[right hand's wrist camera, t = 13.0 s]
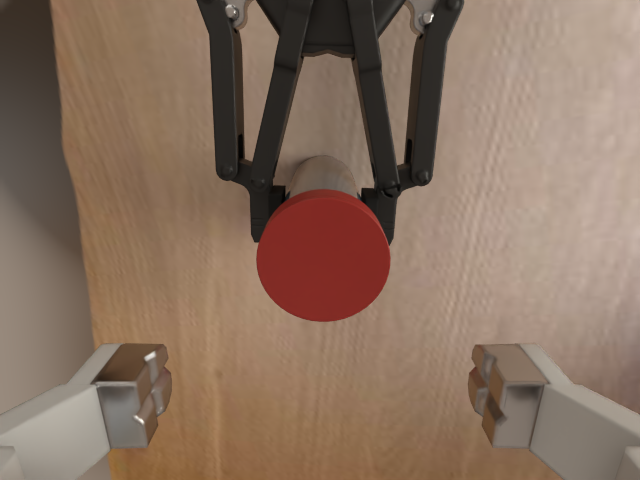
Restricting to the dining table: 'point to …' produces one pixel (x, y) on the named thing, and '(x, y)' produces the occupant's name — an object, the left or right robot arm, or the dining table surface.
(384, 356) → the dining table surface
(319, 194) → the lid
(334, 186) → the jar
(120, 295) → the dining table surface
